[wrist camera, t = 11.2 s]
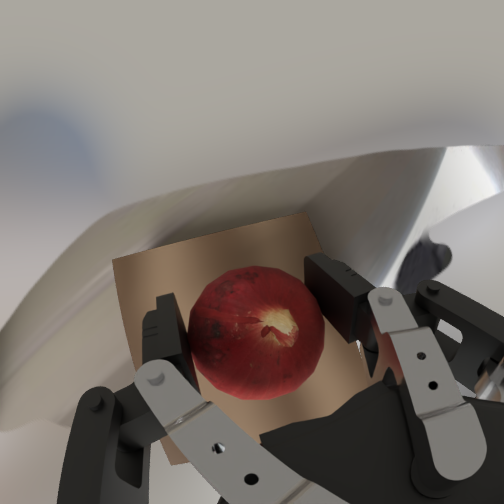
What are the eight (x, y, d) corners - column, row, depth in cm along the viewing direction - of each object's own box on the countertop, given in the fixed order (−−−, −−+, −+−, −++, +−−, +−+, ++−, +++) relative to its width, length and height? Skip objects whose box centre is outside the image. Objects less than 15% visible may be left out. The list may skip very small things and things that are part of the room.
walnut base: (180, 442, 17) (171, 465, 12) (132, 279, 21) (112, 259, 17) (342, 388, 20) (372, 394, 16) (289, 238, 24) (305, 211, 20)
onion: (189, 383, 14) (163, 413, 6) (199, 283, 16) (187, 217, 8) (293, 390, 14) (364, 416, 7) (298, 293, 16) (364, 240, 9)
